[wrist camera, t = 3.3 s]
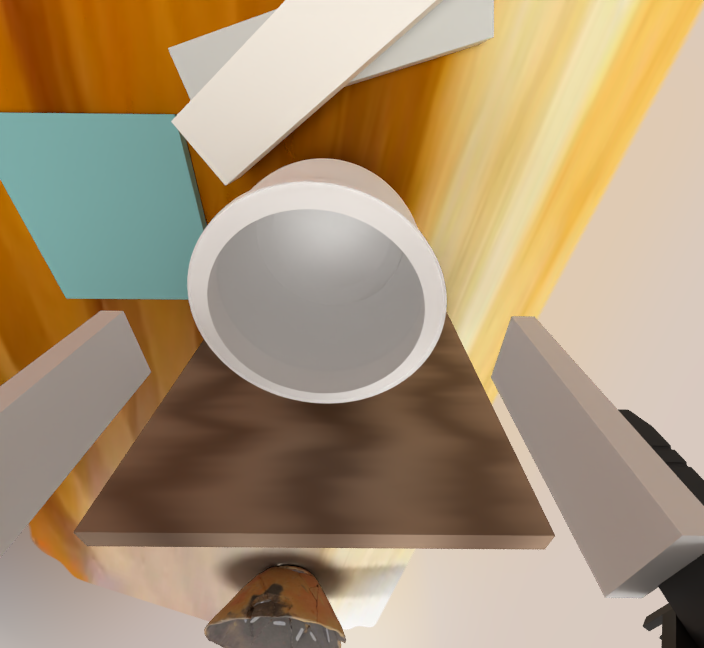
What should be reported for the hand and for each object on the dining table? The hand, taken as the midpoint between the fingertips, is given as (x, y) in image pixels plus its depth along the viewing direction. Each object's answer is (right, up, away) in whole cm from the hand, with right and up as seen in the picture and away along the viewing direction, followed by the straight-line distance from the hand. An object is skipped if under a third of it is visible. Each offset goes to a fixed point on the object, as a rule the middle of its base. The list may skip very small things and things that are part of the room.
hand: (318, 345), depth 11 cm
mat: (-18, +9, +14) cm, 24 cm away
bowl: (-12, -50, +53) cm, 74 cm away
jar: (0, +9, +14) cm, 17 cm away
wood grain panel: (0, 0, +20) cm, 20 cm away
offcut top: (0, +16, +7) cm, 18 cm away
